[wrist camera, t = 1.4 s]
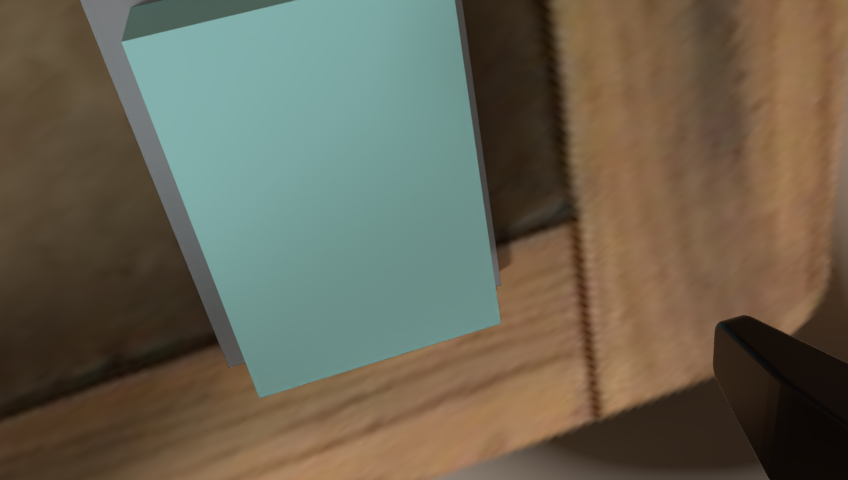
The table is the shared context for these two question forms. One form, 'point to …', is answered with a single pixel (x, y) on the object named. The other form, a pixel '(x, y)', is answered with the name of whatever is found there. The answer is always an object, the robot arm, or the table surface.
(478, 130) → the mat
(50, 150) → the table surface
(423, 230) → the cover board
